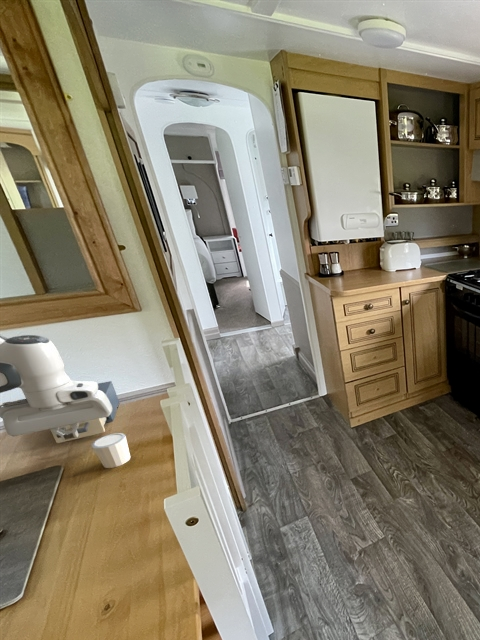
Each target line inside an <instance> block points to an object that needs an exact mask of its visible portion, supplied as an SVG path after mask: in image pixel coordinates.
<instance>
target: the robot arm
mask: <svg viewBox="0 0 480 640" xmlns="http://www.w3.org/2000/svg"><path fill="white" fill-rule="evenodd" d="M15 389H20V390H21V391H22V393H23V396H24V397H25V398H23V399H22V398H21V399H18V400H13V401H12V400H11V401H7V402H2V404H0V418H1V420H2V423H3V427H4V430H5V433H6V434H7V436H9V437H10V436H11V437H18V436H24V435H27V434H29V435H30V434H33V433H38V432H43V431H47V430H50V429H51V430H52V432H53V433H55V434H57V435H59V436H61V438H62V440H67V439H72V438H76V437H78V432H77V428H78V426H79V423H80V422H85V421H90V420H95V419H99V418H104V417H108V416H109V415H110V414H111V412H112V409H113V408H112V405H111V403H110V401H109V399H108V398H107V396H106V395H105V393H104V392H102V391H100V390H98V382H96V381H89V380H88V381H87V380H72V379H71V377H70V376H69V374H67V372H66V370H65V362H64V360H63V358H62V356H61V354H60V352H59V350H58V348H57V347H56V345H55V344H54V343H53V341H52V340H50V339H49V338H47V337H46V336H41V335H35V334H23V335H16V336H12V337H8V338H7V337H6V336H3V335H2V334H0V394H2V393H5V392H9V391H12V390H15ZM66 425H70V427H71V428H72V427H74V429H73V430H72V431H67V432H65V431H64V430H62V429H60V428H61V427H62V426H66ZM51 430H50V431H51ZM52 432H51V433H52Z"/></svg>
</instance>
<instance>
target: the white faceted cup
mask: <svg viewBox="0 0 480 640" xmlns="http://www.w3.org/2000/svg"><path fill="white" fill-rule="evenodd" d="M90 447H91V448H92V450H93V451H94V453H95V455H96V456H97V458H98V460H99V461H100V464H102V466H103V468H105V469H113V468H117V467H120V466H123V465H124V464H125V463H127V462H129V461H130V460H131V454H130V449H129V445H128V440H127V436H126V434H125V433H122V432H115V433H110V434H106V435H104V436H102V437H101V436H100V437H99V438H97V439H96V440H94V441H93V442H92V443H91V445H90Z"/></svg>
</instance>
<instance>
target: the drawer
mask: <svg viewBox="0 0 480 640" xmlns="http://www.w3.org/2000/svg"><path fill="white" fill-rule="evenodd" d="M106 419H107V417H104V418H99V419H95V420H90V421H85V422H80V423H79V426H78V428H77V432H78V437H76V438H72V439H67V440H62V438H61V436H59V435H57V434H55V433H53V432H52V430H51V429H49V431H50V432H51V435H52V436H53V438H54V440H55V442H56V444H60V443H65V442H68V441H72V440H77V439H82V438H87V437H90V436H94V435H100V434H103V433H105V432H106V429H105V424H106V423H105V421H106ZM60 429H62V430H64V431H65V432H67V431H72V430H73V429H74V427H72V428H71V427H70V425H66V426H62V427H61V428H60Z"/></svg>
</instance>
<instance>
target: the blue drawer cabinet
mask: <svg viewBox="0 0 480 640" xmlns="http://www.w3.org/2000/svg"><path fill="white" fill-rule="evenodd" d="M97 384H98V390H100V391H102V392H104V393H105V395H106V396H107V398H108V399H109V401H110V403H111V405H112V408H113V409H112V412H111V414H110V415H109V416H108V417H107V419H106V421H105V424H106V423H111V422H114V419H115V418H116V414H117V412H116V410H117V411H118V409H117V407H118V408H119V406H120V400H119V398H118V395H117V392H116V390H115V387H114V385H113V384H114V383H113V382H112V380H110V381H105V382H100V383H99V382H97ZM118 405H119V406H118Z"/></svg>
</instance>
